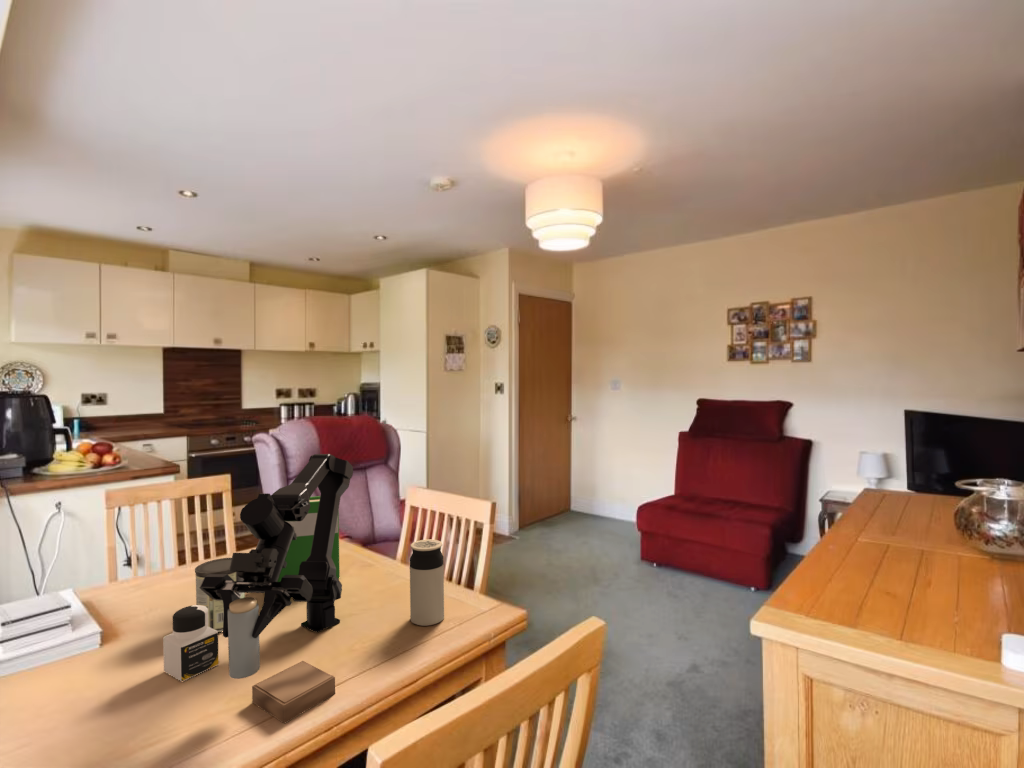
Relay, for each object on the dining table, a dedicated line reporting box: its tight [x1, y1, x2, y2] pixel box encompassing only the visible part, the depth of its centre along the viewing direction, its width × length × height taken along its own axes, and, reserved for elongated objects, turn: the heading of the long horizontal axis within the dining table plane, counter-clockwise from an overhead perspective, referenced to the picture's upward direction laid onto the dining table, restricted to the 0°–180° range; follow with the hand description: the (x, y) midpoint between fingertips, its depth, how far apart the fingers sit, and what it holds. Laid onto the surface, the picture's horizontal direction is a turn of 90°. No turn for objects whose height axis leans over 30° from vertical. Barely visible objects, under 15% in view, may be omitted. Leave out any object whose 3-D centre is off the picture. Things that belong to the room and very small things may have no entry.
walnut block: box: [251, 660, 336, 724], centre depth 94 cm, size 10×10×3 cm
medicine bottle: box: [162, 604, 220, 682], centre depth 104 cm, size 7×7×12 cm
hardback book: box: [278, 495, 341, 582], centre depth 146 cm, size 18×7×24 cm, turn 107°
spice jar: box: [227, 596, 261, 680], centre depth 91 cm, size 5×5×12 cm
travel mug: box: [409, 538, 445, 627], centre depth 125 cm, size 8×8×18 cm
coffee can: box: [194, 557, 246, 633], centre depth 123 cm, size 10×10×14 cm
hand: (239, 637), depth 90 cm, fingers closed on spice jar, 5 cm apart
